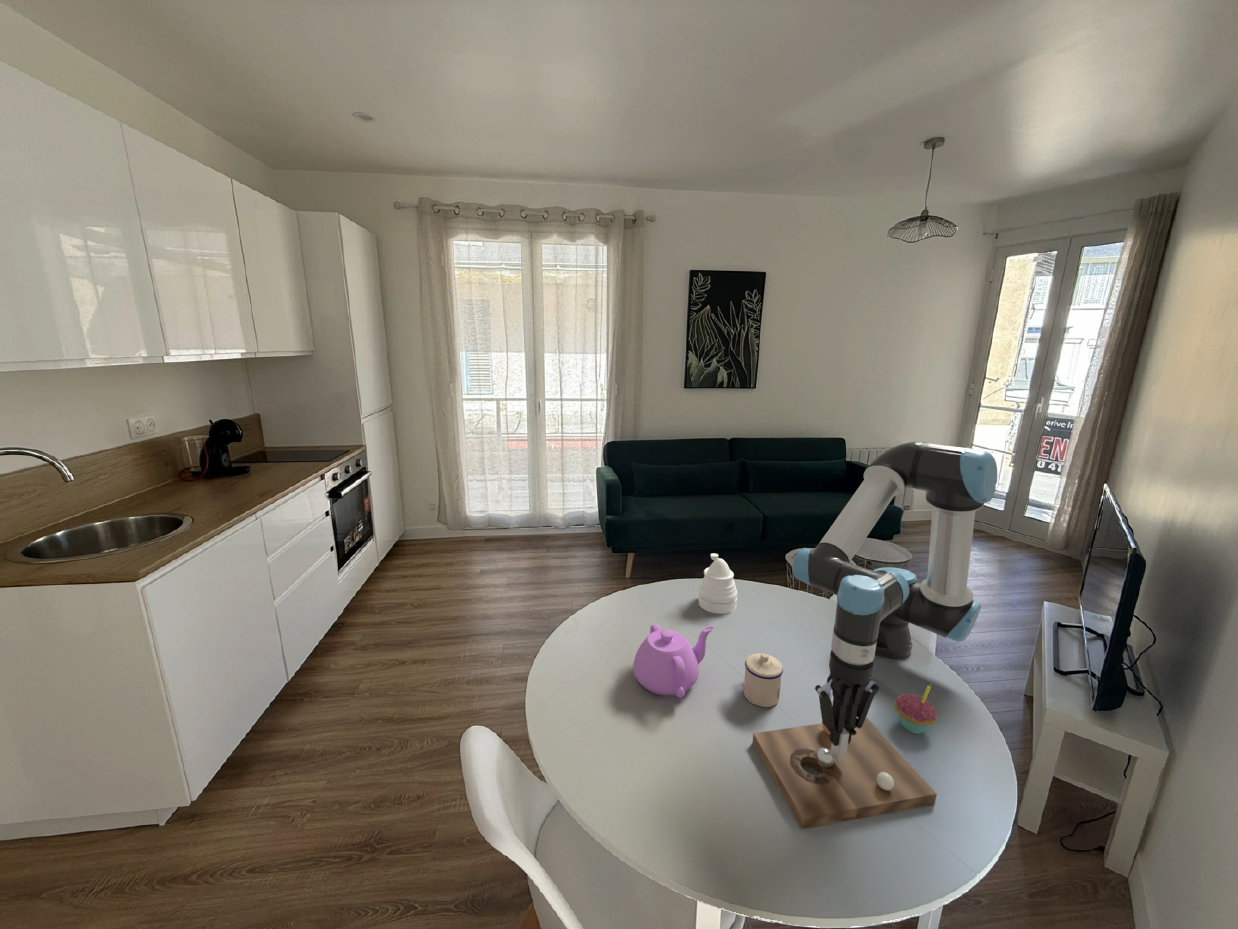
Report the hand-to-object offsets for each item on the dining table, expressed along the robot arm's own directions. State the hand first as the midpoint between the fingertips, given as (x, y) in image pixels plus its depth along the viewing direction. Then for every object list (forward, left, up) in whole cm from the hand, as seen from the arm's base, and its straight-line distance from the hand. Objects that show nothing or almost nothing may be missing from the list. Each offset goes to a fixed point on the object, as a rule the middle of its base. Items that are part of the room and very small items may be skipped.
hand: (837, 755), depth 98 cm
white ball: (-5, +7, 0) cm, 9 cm away
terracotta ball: (-3, -7, 0) cm, 8 cm away
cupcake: (-25, -8, -4) cm, 27 cm away
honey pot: (-1, -68, -4) cm, 68 cm away
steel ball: (+3, 0, 0) cm, 3 cm away
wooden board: (0, 0, -4) cm, 4 cm away
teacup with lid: (+5, -25, -4) cm, 26 cm away
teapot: (+25, -34, -4) cm, 42 cm away
